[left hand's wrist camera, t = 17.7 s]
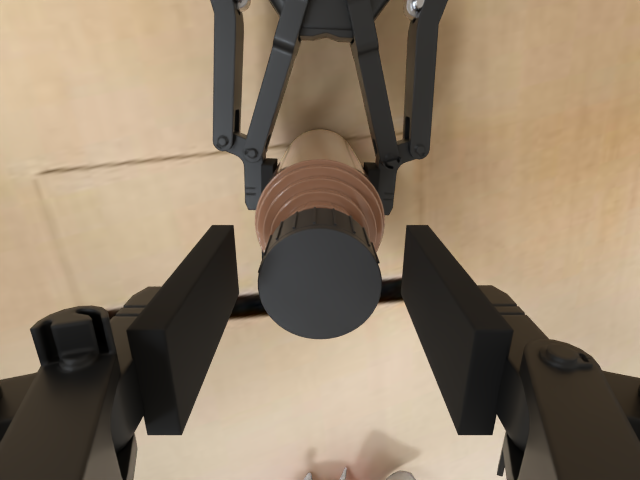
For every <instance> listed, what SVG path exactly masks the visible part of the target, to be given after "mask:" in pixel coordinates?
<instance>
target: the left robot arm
mask: <svg viewBox="0 0 640 480" xmlns="http://www.w3.org/2000/svg"><path fill="white" fill-rule="evenodd" d="M238 295H239V286H238V274H237V262H236V250H235V238H234V226H233V225H212V226H211V227H210V228H209V230H208V231H207V232H206V233H205V235H204V236H203V237H202V238H201V239H200V241H199V242H198V243H197V244H196V246H195V247H194V248H193V249H192V250H191V252H190V253H189V254H188V255H187V257H186V258H185V259H184V260H183V261H182V263H181V264H180V265H179V266H178V268H177V269H176V270H175V271H174V272H173V274H172V275H171V276H170V277H169V279H168V280H167V281H166V282H165V283H164V285H163V286H162V287H147V288H145V289H144V290H142V291H140V292H138V293H137V294H135V295H133V296H132V297H131V298H130V299H129V300H128V302H127V303H126V304H125V305H124V307H123V308H121V309H120V310H119V311H118V312H117V313H116V316H115V317H113V318H112V319H111V320H110V319H109V315H108V311H106V310H105V309H104V308H102V307H97V306H78V307H73V308H69V309H64V310H61V311H59V312H56V313H53V314H50V315H48V316H47V317H45V318H43V319H41V320H40V321H38V322H37V323H36V324H35V325H34V326H33V327H32V328H31V329H30V331H31V334H32V337H33V340H34V344H35V347H36V350H37V354H38V357H39V360H40V363H41V367H40V369H39V370H38V372H37V373H33V374H28V375H23V376H18V377H13V378H8V379H3V380H0V480H133V478H134V471H135V463H136V456H137V443H136V437H135V433H134V432H135V430H136V428H137V427H138V425H139V423H140V421H141V419H142V417H143V416H144V420H145V425H146V430H147V434H148V435H182V433H183V431H184V428H185V426H186V423H187V421H188V418H189V416H190V413H191V411H192V408H193V406H194V403H195V401H196V398H197V396H198V394H199V391H200V389H201V386H202V384H203V381H204V379H205V376H206V374H207V371H208V369H209V366H210V364H211V361H212V359H213V356H214V354H215V352H216V349H217V347H218V344H219V342H220V339H221V337H222V334H223V332H224V329H225V327H226V324H227V322H228V319H229V317H230V315H231V312H232V310H233V307H234V305H235V302H236V300H237V297H238ZM401 295H402V297H403V300H404V302H405V305H406V307H407V310H408V312H409V314H410V317H411V319H412V322H413V324H414V327H415V329H416V332H417V334H418V337H419V339H420V342H421V344H422V347H423V349H424V352H425V354H426V356H427V359H428V361H429V364H430V366H431V369H432V371H433V374H434V376H435V379H436V381H437V384H438V386H439V389H440V391H441V394H442V396H443V398H444V401H445V403H446V406H447V408H448V411H449V413H450V416H451V418H452V421H453V423H454V426H455V428H456V431H457V433H458V435H492V434H493V430H494V425H495V420H496V415H498V417H499V419H500V421H501V423H502V424H503V426H504V428H505V430H506V433H505V437H504V442H503V447H502V451H501V456H500V460H499V465H498V471H497V475H499V476H503V472H504V468H505V470H506V477H507V480H640V378H637V377H631V376H626V375H621V374H616V373H611V372H606V371H602V370H601V368H600V366H599V364H598V363H597V362H596V361H595V360H594V359H593V357H592V356H590V355H589V354H587V353H586V352H584V351H583V350H581V349H579V348H577V347H575V346H572V345H570V344H568V343H564V342H560V341H556V340H551V339H549V338H548V337H547V336H546V335H545V334H544V333H543V332H542V331H541V330H540V329H539V328H538V327H537V326H536V325H535V323H534V322H533V321H532V320H531V319H530V318H529V317H528V316H527V315H525V313H524V312H523V311H522V309H521V308H520V307H519V306H517V304H516V303H515V302H514V301H513V300H512V299H511V298H510V297H509V296H508V294H506V293H504V292H503V291H501V290H499V289H497V288H495V287H494V286H492V285H476V283H475V282H474V281H473V280H472V279H471V277H470V276H469V275H468V274H467V272H466V271H465V270H464V269H463V268H462V266H461V265H460V264H459V263H458V261H457V260H456V259H455V258H454V257H453V255H452V254H451V253H450V252H449V250H448V249H447V248H446V247H445V246H444V244H443V243H442V242H441V241H440V239H439V238H438V237H437V236H436V235H435V233H434V232H433V231H432V230H431V228H430V227H429V226H428V225H407V226H406V238H405V250H404V262H403V274H402V286H401Z"/></svg>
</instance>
